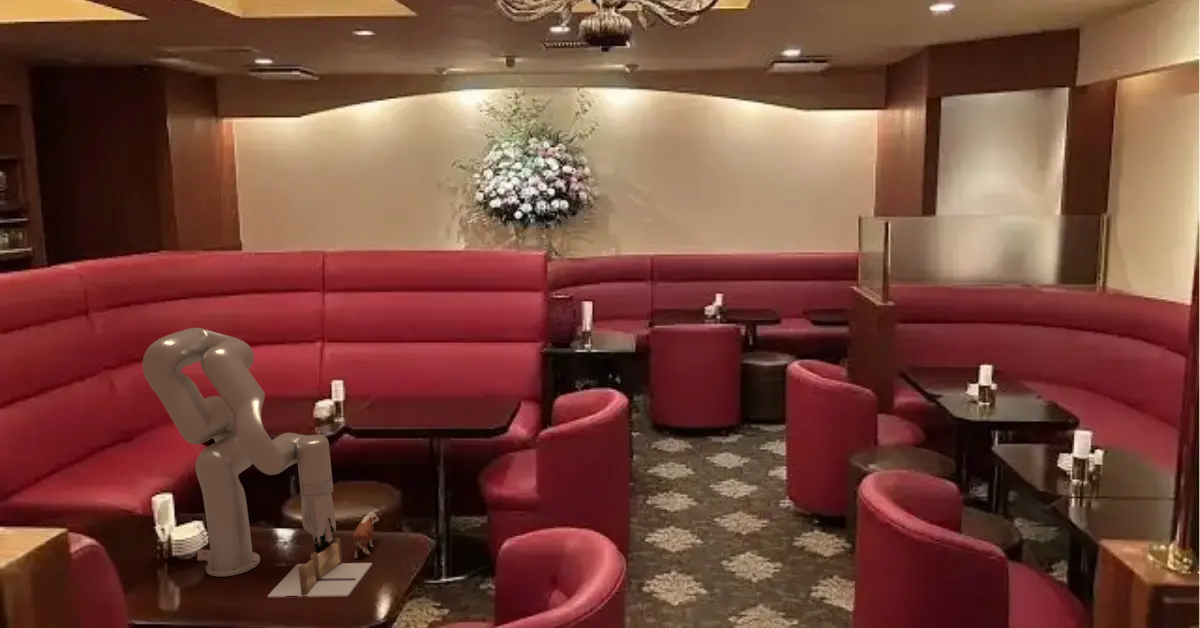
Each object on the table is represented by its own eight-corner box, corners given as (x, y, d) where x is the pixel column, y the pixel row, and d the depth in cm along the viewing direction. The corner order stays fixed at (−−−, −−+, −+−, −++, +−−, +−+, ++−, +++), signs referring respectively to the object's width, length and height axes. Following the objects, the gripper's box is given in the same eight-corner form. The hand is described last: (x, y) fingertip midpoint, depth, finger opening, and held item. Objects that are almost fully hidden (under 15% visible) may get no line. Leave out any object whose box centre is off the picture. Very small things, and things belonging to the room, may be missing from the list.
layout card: (267, 597, 217) (267, 595, 217) (297, 565, 234) (297, 563, 234) (348, 596, 215) (347, 594, 215) (372, 564, 232) (372, 562, 232)
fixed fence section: (300, 595, 216) (297, 568, 215) (311, 582, 223) (308, 556, 222) (306, 595, 216) (303, 568, 215) (317, 582, 223) (314, 556, 221)
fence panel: (317, 580, 223) (314, 555, 222) (311, 579, 223) (308, 554, 222) (344, 561, 233) (341, 537, 232) (338, 560, 233) (335, 536, 232)
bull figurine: (383, 538, 248) (380, 509, 246) (366, 560, 234) (362, 529, 233) (367, 539, 248) (364, 509, 247) (348, 561, 235) (345, 529, 233)
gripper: (289, 483, 232) (296, 553, 235) (314, 498, 220) (321, 572, 223) (318, 475, 236) (325, 545, 239) (344, 490, 225) (351, 563, 228)
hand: (323, 558), depth 231 cm, fingers closed
